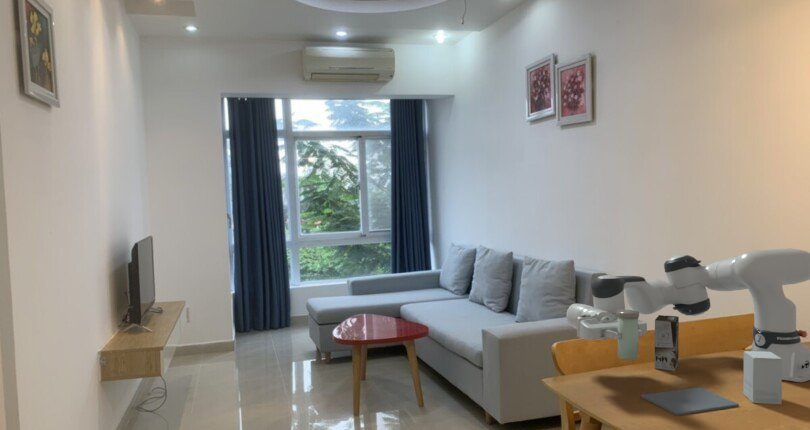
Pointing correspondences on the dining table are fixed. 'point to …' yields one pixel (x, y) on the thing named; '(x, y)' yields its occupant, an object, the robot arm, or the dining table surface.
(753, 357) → the supplement box
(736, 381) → the dining table surface
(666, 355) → the coffee box
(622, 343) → the ceramic jar
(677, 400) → the cutting board
